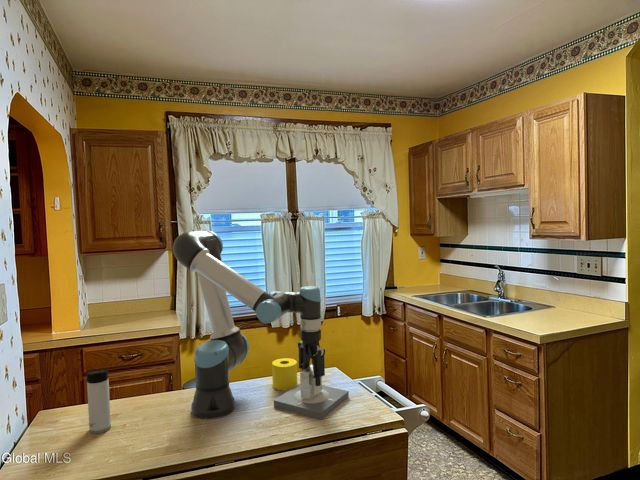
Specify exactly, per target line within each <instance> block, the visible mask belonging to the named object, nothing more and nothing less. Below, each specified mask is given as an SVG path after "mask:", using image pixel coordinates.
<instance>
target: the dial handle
mask: <svg viewBox="0 0 640 480" xmlns="http://www.w3.org/2000/svg"><path fill="white" fill-rule="evenodd" d="M299 376H300V379H299V380H300V381H299V384H300V388H301V398H304V399H308V400H311V399H312V398H313V397H314V396H316V395H317V394H316V395H313V376H314V371H313V365H312V363H311V364H309V366H308V367H306V368H305V369H303V370H302V369H301V370H300V373H299ZM322 385H323V376H322V377H321V385H320V392H321V391H322Z"/></svg>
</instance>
